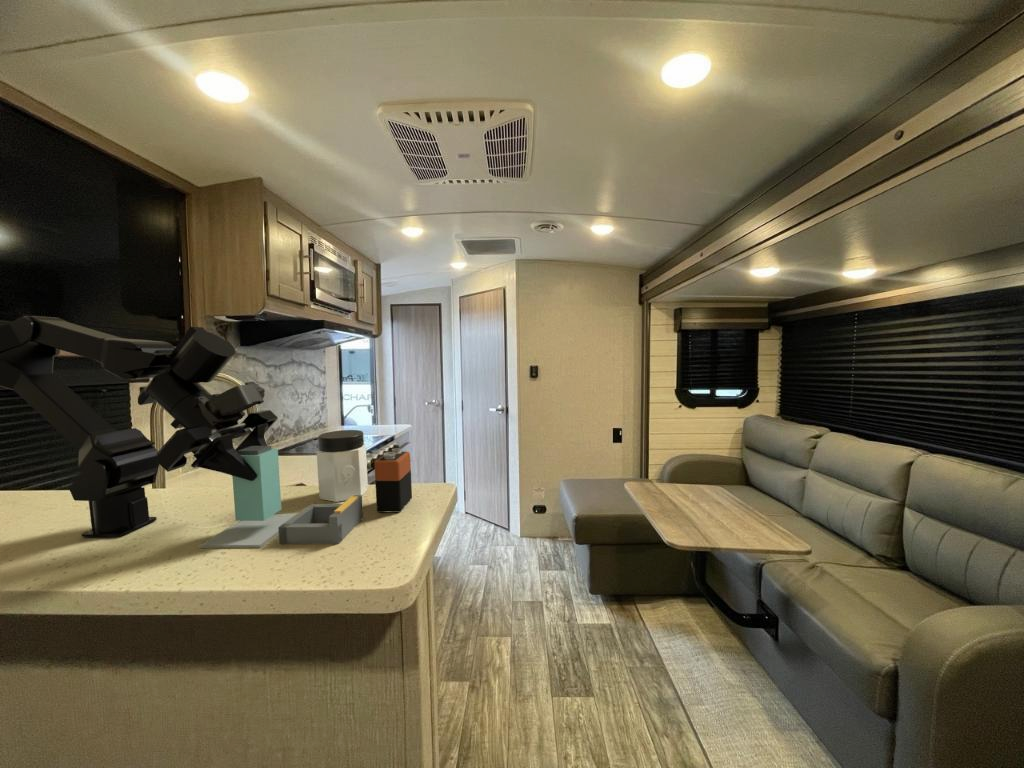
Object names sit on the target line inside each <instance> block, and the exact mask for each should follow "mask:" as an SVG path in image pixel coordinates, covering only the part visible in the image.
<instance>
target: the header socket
mask: <svg viewBox="0 0 1024 768" xmlns="http://www.w3.org/2000/svg"><path fill="white" fill-rule="evenodd" d="M363 511H364V508H363V495H354V496H351V497H350V498H349V499H348V500H345V501H343V503H314V504H313V503H311V504H308V505H307V506H306V507H304V508H303V509H302V510H300V511H299V512H298V513H295V514H296V515H295V516H293V517H292V518H291V519H289V520H288V521H286V522H285V523H284V524H282V525H281V526H279V527H278V531H279V534H278V542H279V545H285V544H286V545H293V544H294V545H300V544H301V545H303V544H305V545H306V544H307V545H308V544H309V545H311V544H313V545H318V544H320V545H323V544H324V545H325V544H326V545H327V544H331V545H333V544H335V545H336V544H340V543H341V542H342V541H343V539H345V538H346V537H347V536H348V535H349V534H350V533H351V531H352V530H354V528H355V527H356V526H357V525H358V524H359V523H360V522H362V520H363V519H364V512H363ZM362 518H363V519H362ZM361 519H362V520H361ZM321 522H324V523H321ZM325 522H326V523H325ZM327 522H329V523H327ZM358 522H359V523H358ZM347 534H348V535H347Z"/></svg>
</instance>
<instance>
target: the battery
mask: <svg viewBox="0 0 1024 768" xmlns="http://www.w3.org/2000/svg"><path fill="white" fill-rule="evenodd" d="M411 464H412V463H411V453H410V452H409V451H401V448H399V447H398V448H397V447H396V448H392V449H391V451H387V452H384V453H383V455H382V456H380V457H379V458H377V459H376V460H375V461H374V463H373V465H374V482H375V501H376V511H377V512H378V511H400V512H401V511H402V510H403V509H404V508H405V507H406V506H407V504H409V502H410V501H411V500H410V499H413V494H412V493H413V489H412V487H413V486H412V471H411V470H412V467H411ZM405 505H406V506H405ZM404 506H405V507H404Z"/></svg>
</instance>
